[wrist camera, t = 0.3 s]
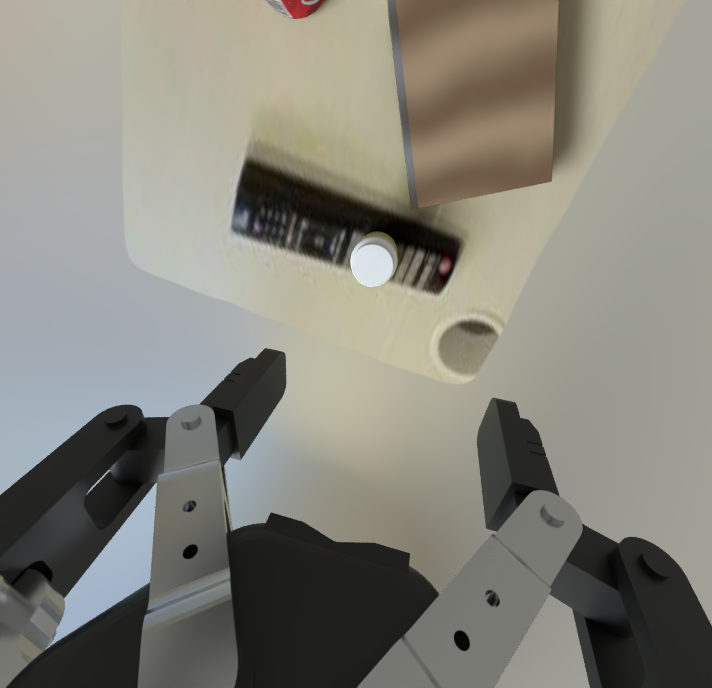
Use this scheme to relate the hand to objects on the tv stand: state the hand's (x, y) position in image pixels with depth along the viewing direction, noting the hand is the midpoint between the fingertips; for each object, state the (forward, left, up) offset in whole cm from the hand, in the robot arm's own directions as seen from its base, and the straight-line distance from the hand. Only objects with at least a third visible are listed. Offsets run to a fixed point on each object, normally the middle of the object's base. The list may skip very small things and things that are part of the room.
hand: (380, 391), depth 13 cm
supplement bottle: (-1, -2, -28) cm, 29 cm away
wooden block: (-13, +9, -28) cm, 33 cm away
